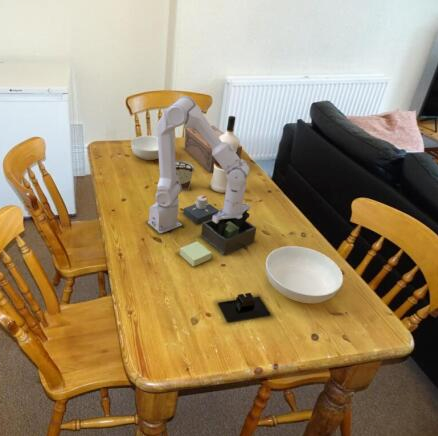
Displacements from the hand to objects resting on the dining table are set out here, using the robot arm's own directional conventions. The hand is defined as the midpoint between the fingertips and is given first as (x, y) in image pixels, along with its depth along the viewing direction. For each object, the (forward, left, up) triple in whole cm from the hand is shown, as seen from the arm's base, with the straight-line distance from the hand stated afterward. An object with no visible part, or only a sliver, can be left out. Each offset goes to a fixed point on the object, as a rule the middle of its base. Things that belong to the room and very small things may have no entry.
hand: (227, 233), depth 136 cm
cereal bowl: (+13, +66, -2) cm, 67 cm away
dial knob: (+3, +17, 0) cm, 18 cm away
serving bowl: (+2, -28, -2) cm, 28 cm away
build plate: (-18, -26, -2) cm, 32 cm away
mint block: (-15, -2, -2) cm, 15 cm away
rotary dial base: (+2, +16, -2) cm, 16 cm away
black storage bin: (0, 0, -2) cm, 2 cm away
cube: (0, 0, -2) cm, 2 cm away
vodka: (+22, +27, -2) cm, 35 cm away
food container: (+8, +38, -2) cm, 39 cm away
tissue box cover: (+37, +51, -2) cm, 63 cm away
